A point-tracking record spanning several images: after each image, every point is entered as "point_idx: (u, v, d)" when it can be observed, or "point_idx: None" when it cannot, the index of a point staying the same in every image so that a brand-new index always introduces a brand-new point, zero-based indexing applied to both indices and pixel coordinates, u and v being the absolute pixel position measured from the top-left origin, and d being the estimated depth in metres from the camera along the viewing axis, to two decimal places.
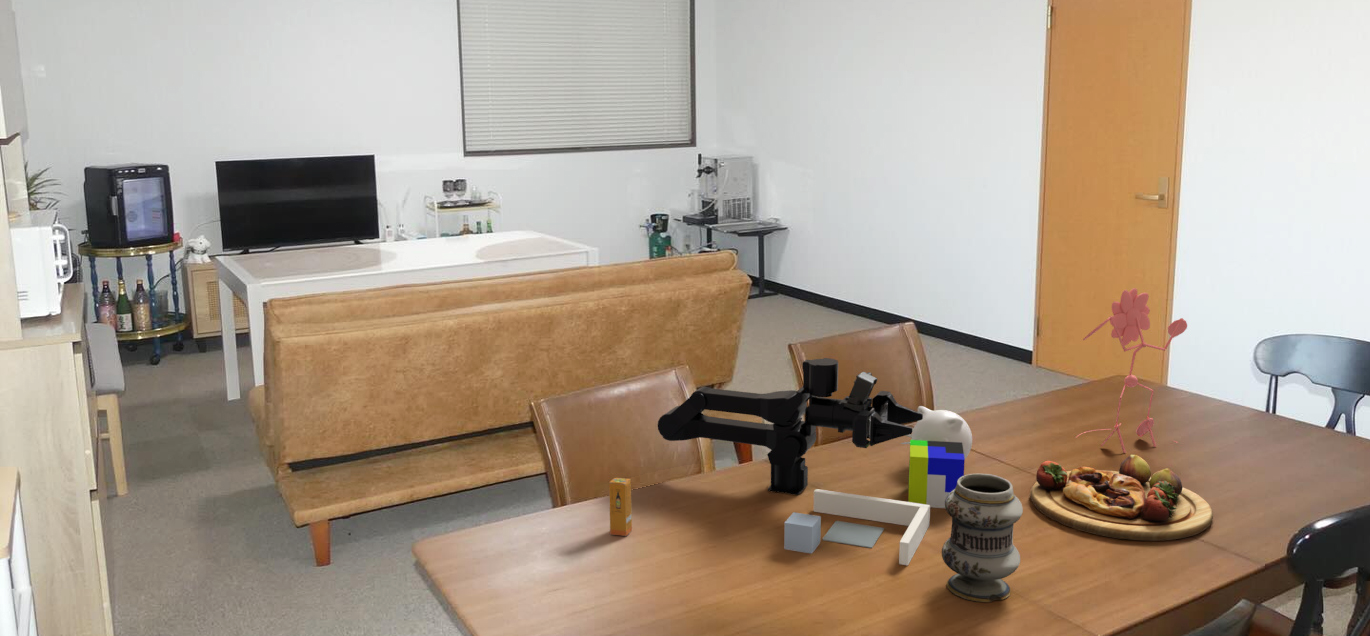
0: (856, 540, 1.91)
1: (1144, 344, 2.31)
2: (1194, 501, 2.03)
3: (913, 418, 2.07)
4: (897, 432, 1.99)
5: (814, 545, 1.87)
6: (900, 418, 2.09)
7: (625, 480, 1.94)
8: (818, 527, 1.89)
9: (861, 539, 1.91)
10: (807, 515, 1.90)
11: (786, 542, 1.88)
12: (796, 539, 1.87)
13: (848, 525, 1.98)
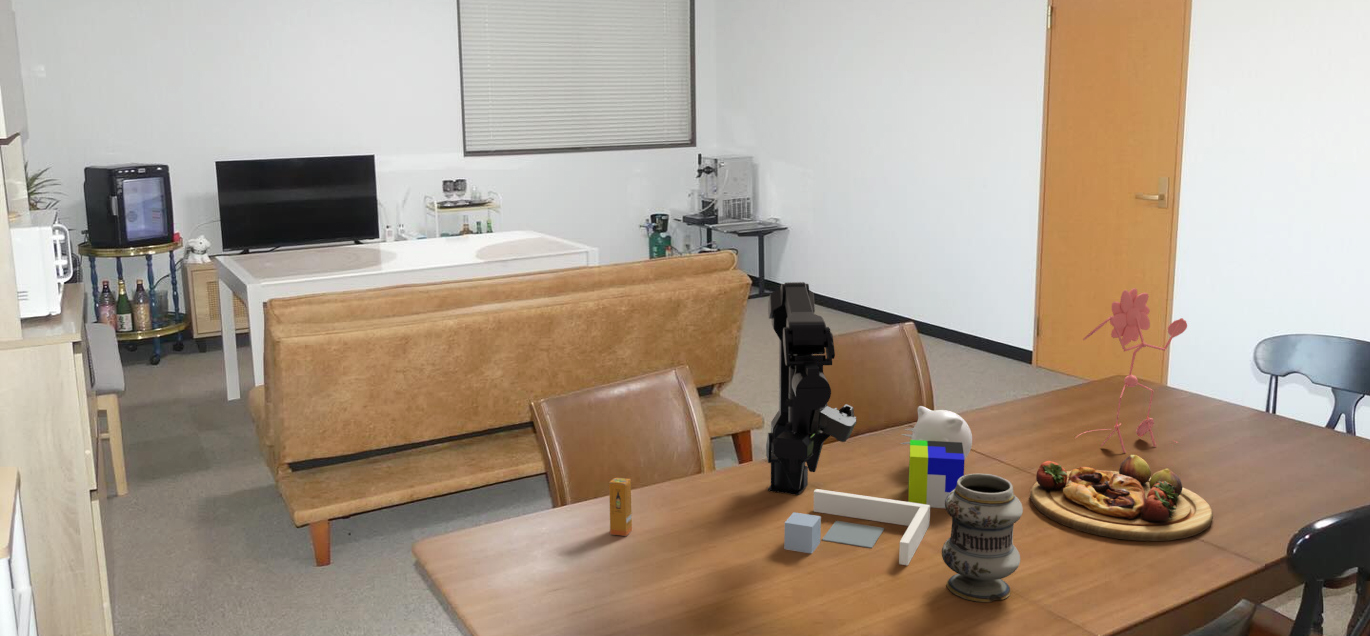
0: (856, 540, 1.91)
1: (1144, 344, 2.31)
2: (1194, 501, 2.03)
3: (809, 462, 1.91)
4: (792, 476, 1.82)
5: (814, 545, 1.87)
6: None
7: (625, 480, 1.94)
8: (818, 527, 1.89)
9: (861, 539, 1.91)
10: (807, 515, 1.90)
11: (786, 542, 1.88)
12: (796, 539, 1.87)
13: (848, 525, 1.98)
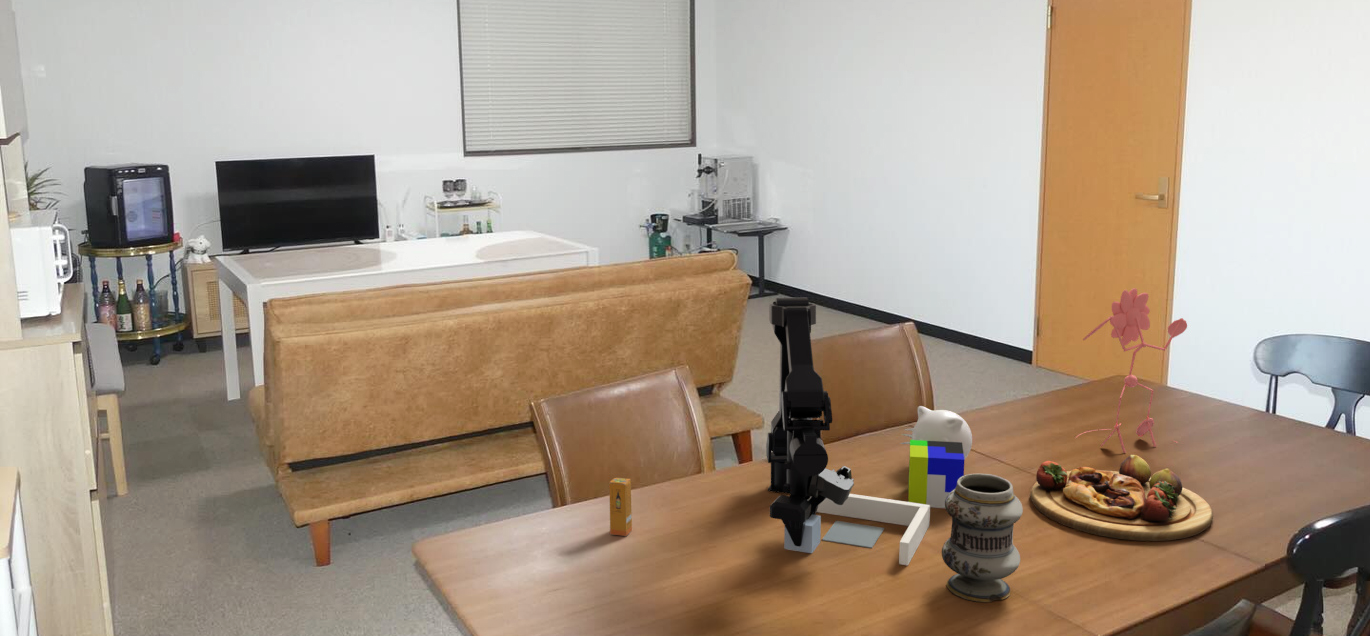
0: (856, 540, 1.91)
1: (1144, 344, 2.31)
2: (1194, 501, 2.03)
3: None
4: (794, 534, 1.86)
5: (814, 544, 1.87)
6: None
7: (625, 480, 1.94)
8: (818, 526, 1.89)
9: (861, 539, 1.91)
10: None
11: (786, 541, 1.88)
12: None
13: (848, 525, 1.98)
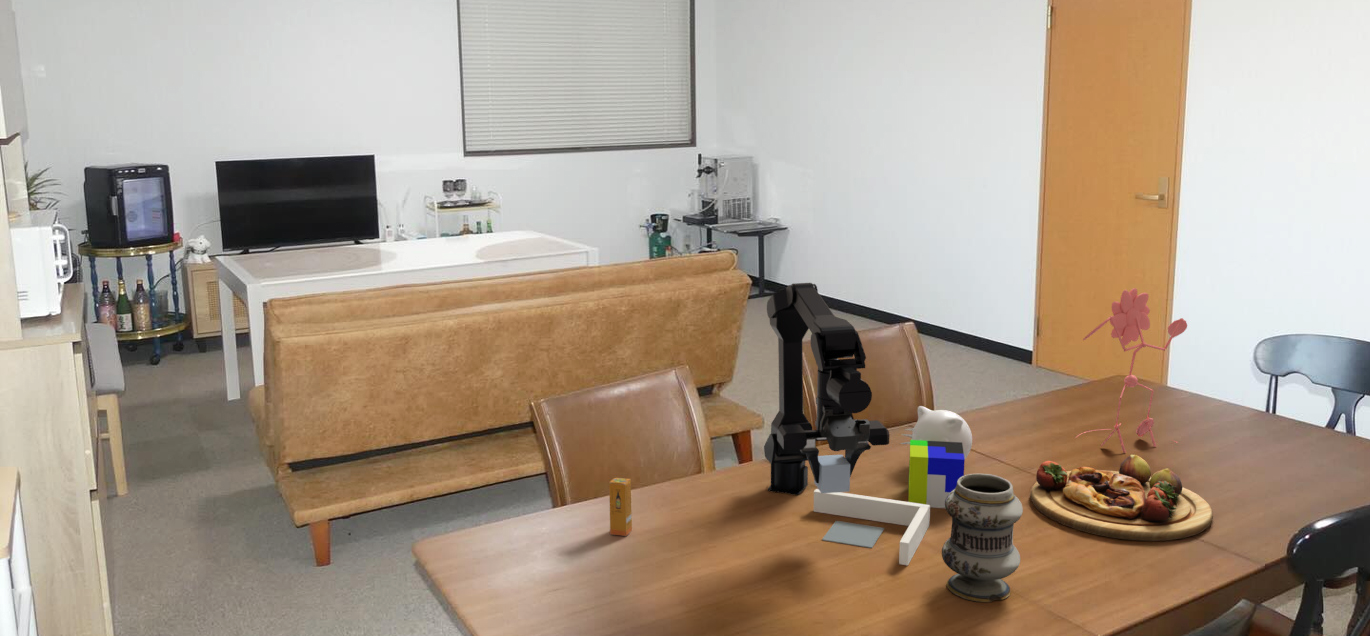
0: (856, 540, 1.91)
1: (1144, 344, 2.31)
2: (1194, 501, 2.03)
3: None
4: (811, 468, 1.89)
5: (829, 487, 1.87)
6: (846, 455, 1.90)
7: (625, 480, 1.94)
8: (841, 472, 1.87)
9: (861, 539, 1.91)
10: (843, 459, 1.89)
11: None
12: None
13: (848, 525, 1.98)
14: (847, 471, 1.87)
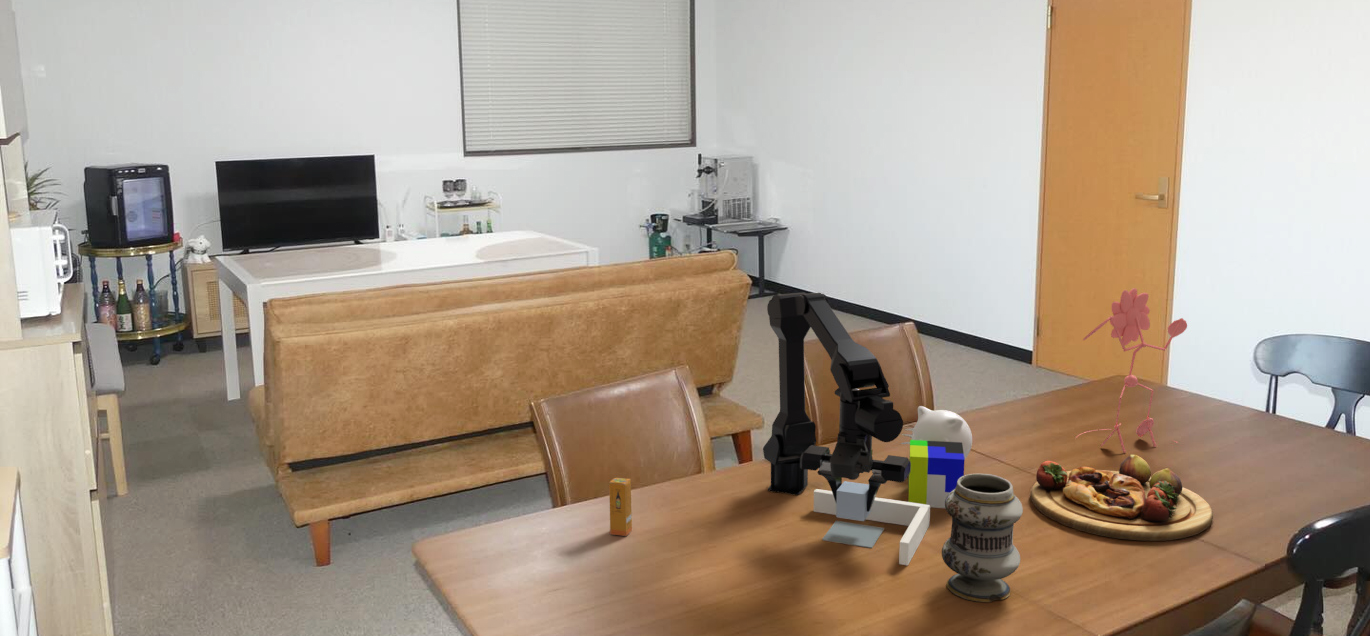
0: (856, 540, 1.91)
1: (1144, 344, 2.31)
2: (1194, 501, 2.03)
3: None
4: None
5: (844, 513, 1.91)
6: None
7: (625, 480, 1.94)
8: (855, 501, 1.90)
9: (861, 539, 1.91)
10: (864, 489, 1.91)
11: None
12: None
13: (848, 525, 1.98)
14: (861, 501, 1.89)
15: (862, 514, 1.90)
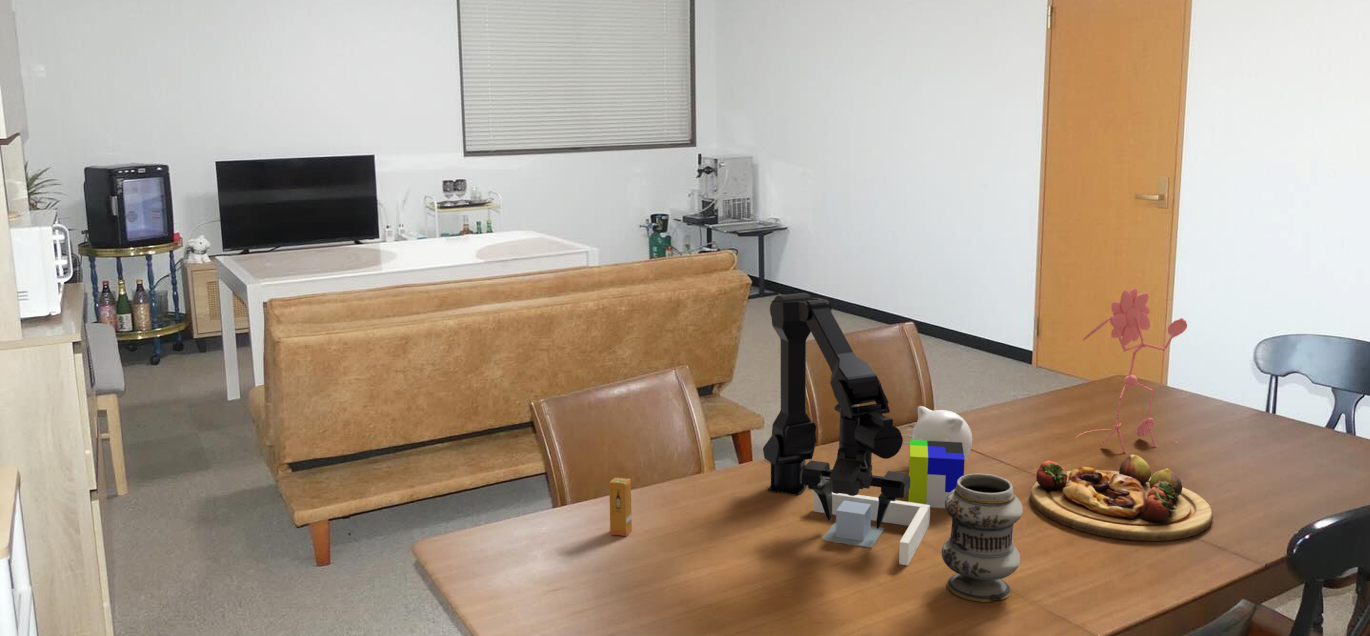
0: (856, 540, 1.91)
1: (1144, 344, 2.31)
2: (1194, 501, 2.03)
3: None
4: None
5: (843, 532, 1.92)
6: None
7: (625, 480, 1.94)
8: (855, 520, 1.91)
9: None
10: (864, 509, 1.92)
11: None
12: None
13: None
14: (861, 520, 1.90)
15: (862, 534, 1.91)
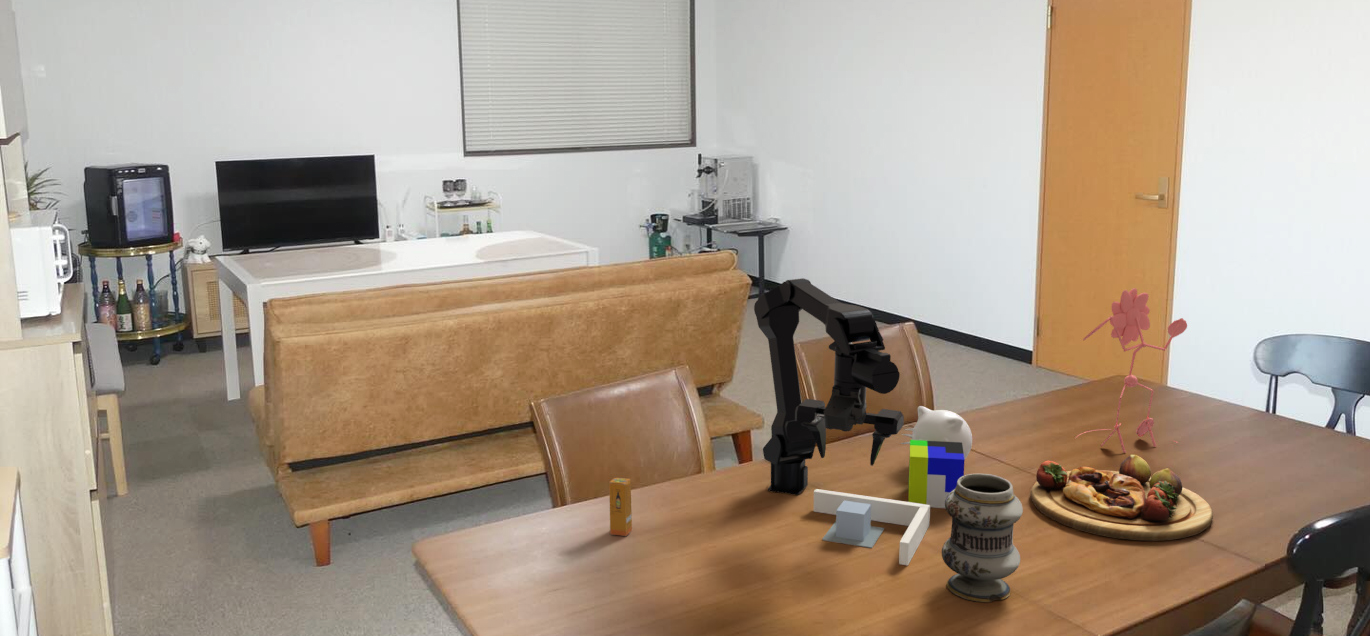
0: (856, 540, 1.91)
1: (1144, 344, 2.31)
2: (1194, 501, 2.03)
3: None
4: None
5: (843, 532, 1.92)
6: None
7: (625, 480, 1.94)
8: (855, 520, 1.91)
9: None
10: (864, 509, 1.92)
11: None
12: None
13: None
14: (861, 520, 1.90)
15: (862, 534, 1.91)
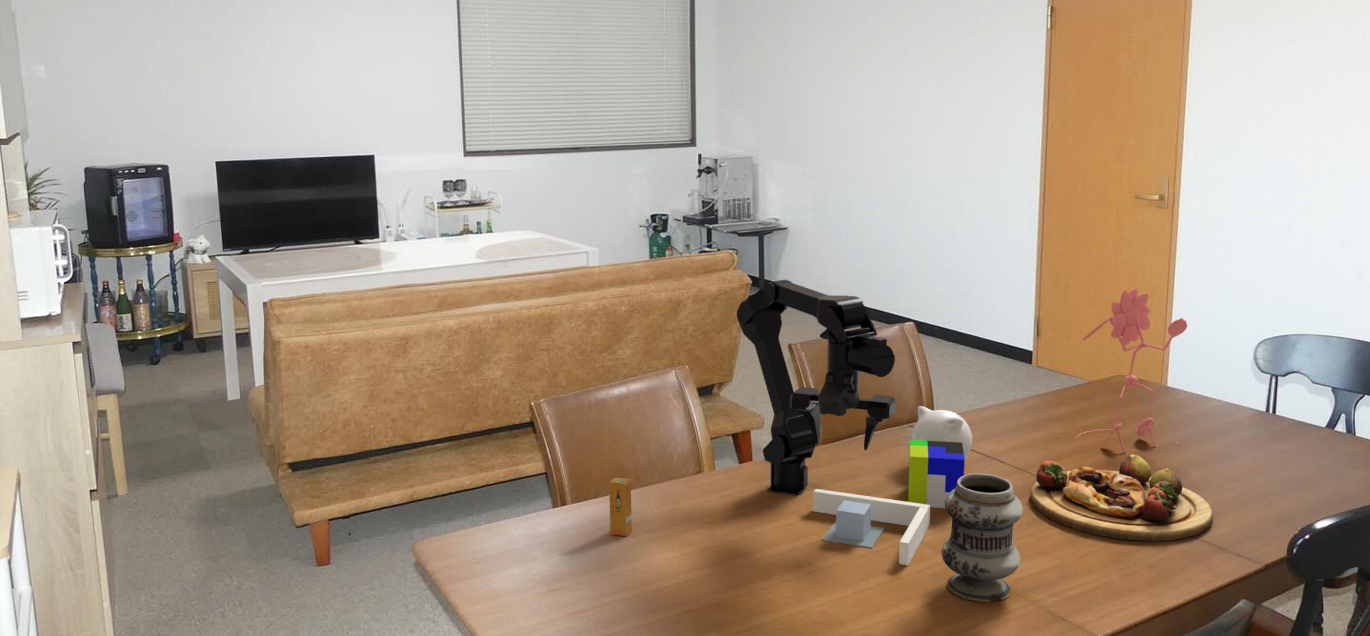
0: (856, 540, 1.91)
1: (1144, 344, 2.31)
2: (1194, 501, 2.03)
3: None
4: None
5: (843, 532, 1.92)
6: None
7: (625, 480, 1.94)
8: (855, 520, 1.91)
9: None
10: (864, 509, 1.92)
11: None
12: None
13: None
14: (861, 520, 1.90)
15: (862, 534, 1.91)
